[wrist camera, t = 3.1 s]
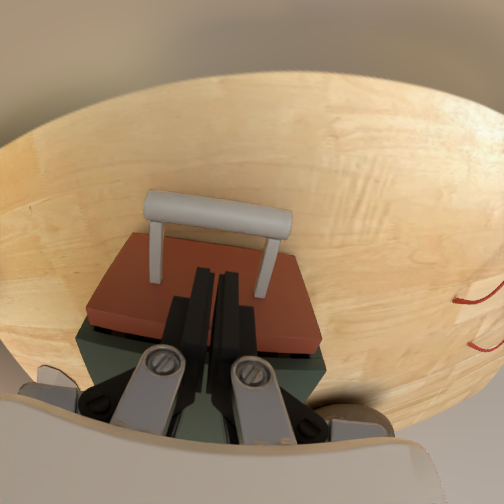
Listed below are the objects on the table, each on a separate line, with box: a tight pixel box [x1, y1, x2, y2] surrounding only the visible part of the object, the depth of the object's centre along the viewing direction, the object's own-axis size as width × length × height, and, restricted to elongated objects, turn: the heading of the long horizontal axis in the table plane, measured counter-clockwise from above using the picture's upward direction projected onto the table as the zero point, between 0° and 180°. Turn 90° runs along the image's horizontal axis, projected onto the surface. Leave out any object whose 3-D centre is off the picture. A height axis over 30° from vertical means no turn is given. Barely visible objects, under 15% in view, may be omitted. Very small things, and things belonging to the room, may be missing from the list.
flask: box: [37, 366, 79, 391], centre depth 25 cm, size 7×7×10 cm
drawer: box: [86, 189, 322, 358], centre depth 17 cm, size 18×11×8 cm, turn 169°
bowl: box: [313, 404, 395, 437], centre depth 29 cm, size 18×18×13 cm
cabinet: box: [75, 315, 326, 444], centre depth 19 cm, size 15×13×10 cm
